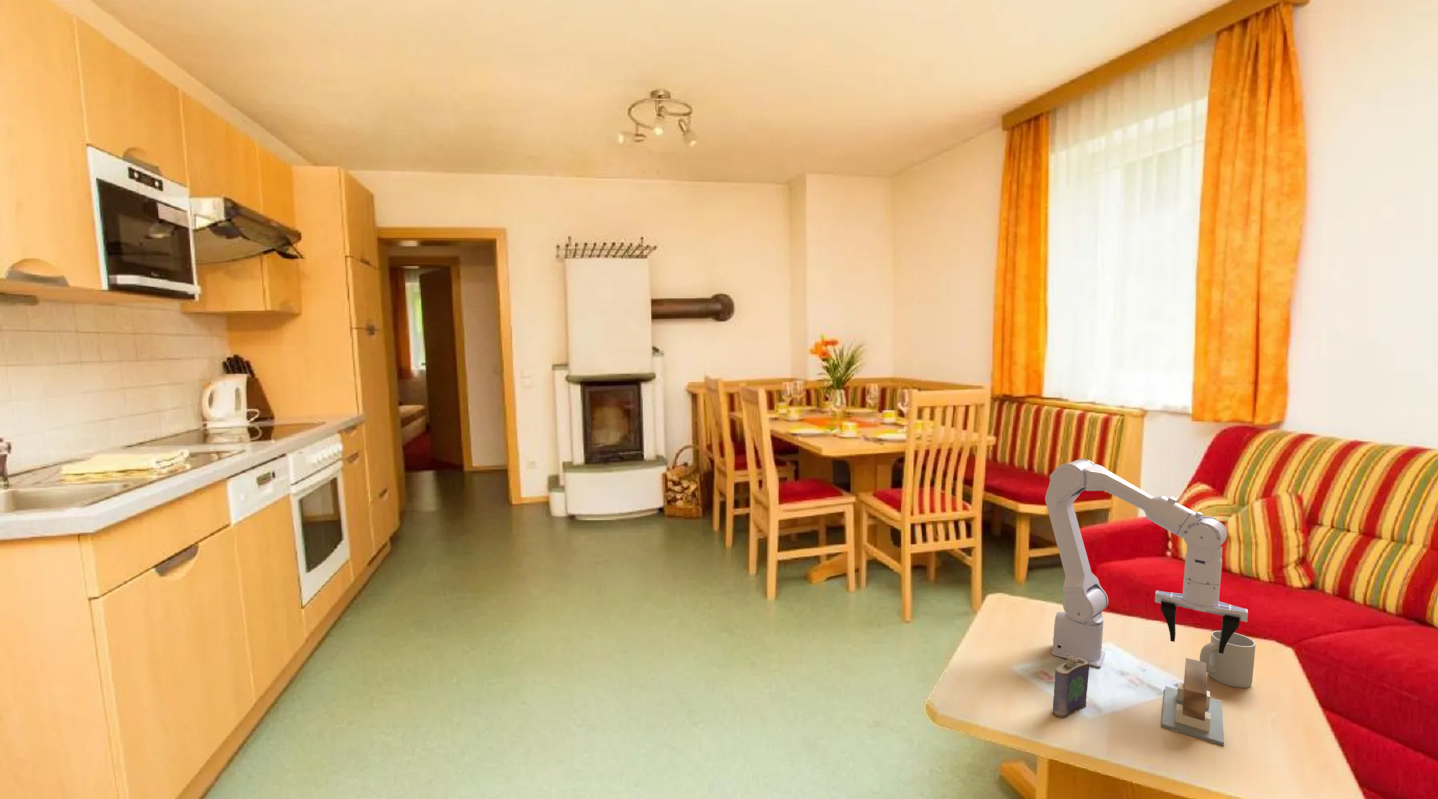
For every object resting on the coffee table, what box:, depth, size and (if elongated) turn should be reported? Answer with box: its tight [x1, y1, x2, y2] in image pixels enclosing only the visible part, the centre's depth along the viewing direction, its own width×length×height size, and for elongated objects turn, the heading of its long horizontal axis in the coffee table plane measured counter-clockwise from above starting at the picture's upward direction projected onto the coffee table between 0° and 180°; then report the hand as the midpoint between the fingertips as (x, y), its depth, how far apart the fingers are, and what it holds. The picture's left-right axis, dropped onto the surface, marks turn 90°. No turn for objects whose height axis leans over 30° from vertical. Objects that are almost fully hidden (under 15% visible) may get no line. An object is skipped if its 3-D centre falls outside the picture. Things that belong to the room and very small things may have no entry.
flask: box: [1052, 654, 1090, 719], centre depth 121 cm, size 9×3×11 cm, turn 121°
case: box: [1183, 657, 1208, 721], centre depth 119 cm, size 3×14×5 cm, turn 143°
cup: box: [1199, 630, 1257, 689], centre depth 132 cm, size 7×10×9 cm
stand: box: [1161, 682, 1225, 746], centre depth 120 cm, size 9×16×3 cm, turn 143°
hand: (1196, 645), depth 126 cm, fingers open, 7 cm apart
